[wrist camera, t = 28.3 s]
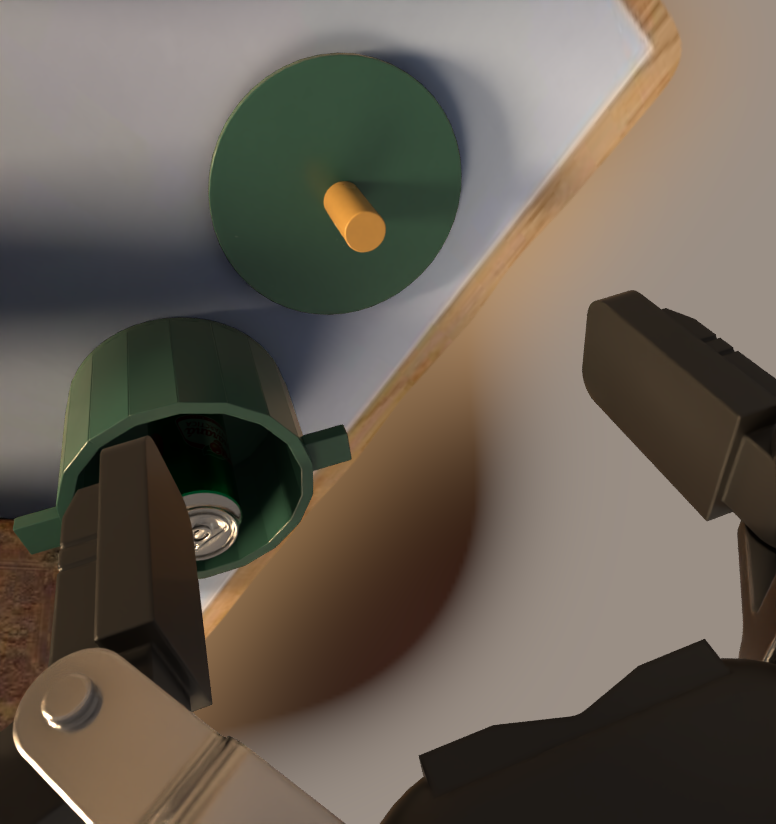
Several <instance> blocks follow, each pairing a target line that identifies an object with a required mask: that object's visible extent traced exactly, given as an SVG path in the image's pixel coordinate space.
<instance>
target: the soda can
mask: <svg viewBox="0 0 776 824" xmlns="http://www.w3.org/2000/svg"><path fill="white" fill-rule="evenodd" d="M147 426H148V436H150V437H151V438H152V440H153V441H154V443H155V445H156V447H157V449H158V450H159V452H160V454H161V456H162V458H163V460H164V462H165V464H166V466H167V468H168V470H169V472H170V474H171V476H172V478H173V480H174V482H175V483H176V485H177V487H178V489H179V491H180V493H181V495H182V497H183V500H184V502H185V505H186V507H187V510H188V514H189V517H190V521H191V525H192V531H193V539H194V548H195V557H196V561H198V560H205V559H209V558H212V557H215V556H217V555H219V554H221V553H223V552H224V551H226V550H227V549H228V548H229V547H230V546H231V545H232V544H233V543H234V542H235V540H236V538H237V535H238V529H239V527H240V525H241V522H242V510H241V505H240V500H239V495H238V490H237V485H236V480H235V475H234V470H233V465H232V460H231V455H230V450H229V445H228V440H227V435H226V429H225V424H224V419H223V414H177V415H174V416H170V417H166V418H163V419H159V420H155V421H151V422H148V423H147Z"/></svg>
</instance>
